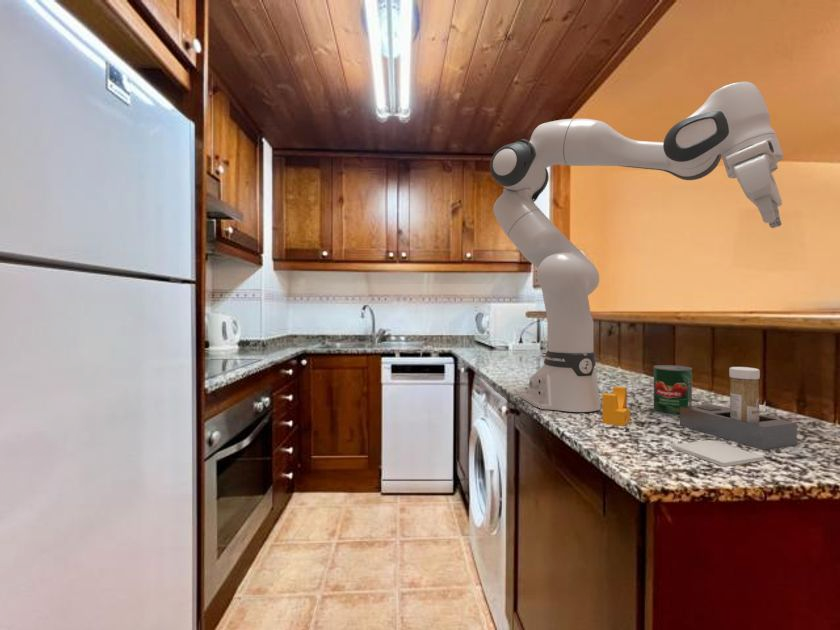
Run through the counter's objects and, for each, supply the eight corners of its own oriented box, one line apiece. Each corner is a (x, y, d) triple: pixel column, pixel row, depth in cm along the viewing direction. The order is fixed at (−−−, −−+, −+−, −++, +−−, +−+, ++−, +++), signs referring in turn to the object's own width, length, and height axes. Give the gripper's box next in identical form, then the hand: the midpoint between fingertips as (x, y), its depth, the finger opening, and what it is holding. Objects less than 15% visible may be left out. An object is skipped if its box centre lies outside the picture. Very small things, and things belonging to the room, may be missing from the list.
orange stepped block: (624, 427, 85) (624, 396, 85) (602, 423, 88) (602, 394, 88) (635, 415, 94) (634, 388, 94) (615, 412, 97) (614, 386, 97)
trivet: (672, 448, 71) (672, 444, 71) (710, 443, 74) (710, 439, 74) (723, 466, 62) (723, 462, 62) (764, 460, 65) (764, 456, 65)
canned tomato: (658, 415, 94) (658, 368, 94) (649, 407, 101) (649, 364, 101) (697, 417, 91) (697, 369, 91) (685, 409, 99) (685, 365, 99)
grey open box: (680, 425, 85) (679, 406, 85) (710, 422, 88) (710, 403, 88) (763, 449, 70) (763, 426, 70) (796, 444, 72) (796, 422, 72)
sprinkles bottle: (762, 442, 74) (762, 370, 74) (731, 438, 76) (731, 368, 76) (756, 435, 78) (756, 367, 78) (727, 432, 80) (727, 365, 80)
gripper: (742, 177, 90) (760, 235, 88) (723, 156, 76) (744, 225, 74) (778, 163, 85) (798, 224, 84) (765, 138, 71) (789, 211, 70)
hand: (773, 224), depth 79 cm, fingers open, 8 cm apart
